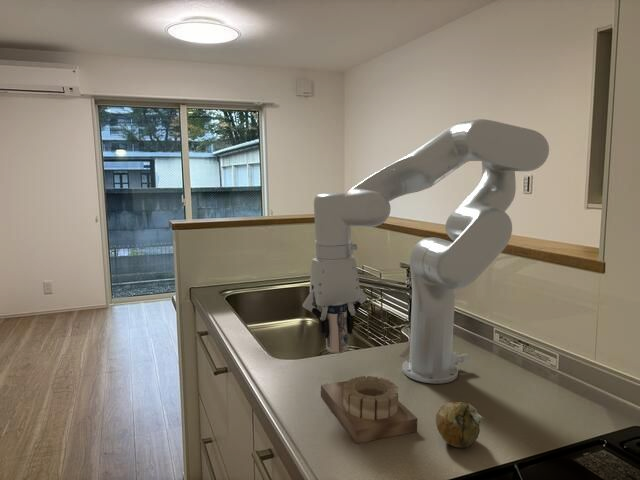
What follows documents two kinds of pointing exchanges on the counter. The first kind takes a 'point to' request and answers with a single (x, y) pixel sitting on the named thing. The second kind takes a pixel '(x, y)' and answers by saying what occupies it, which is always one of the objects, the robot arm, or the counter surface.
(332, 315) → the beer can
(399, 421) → the board
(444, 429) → the onion
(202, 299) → the counter surface
